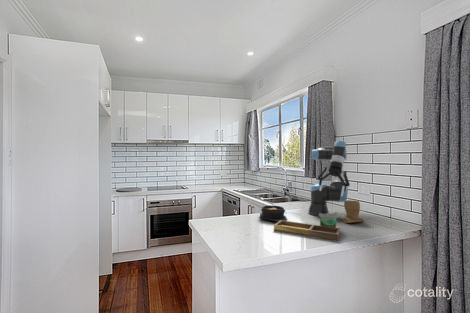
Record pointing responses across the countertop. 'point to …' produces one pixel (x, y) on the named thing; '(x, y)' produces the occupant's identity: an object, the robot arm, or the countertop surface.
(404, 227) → the countertop surface
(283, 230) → the walnut divided tray
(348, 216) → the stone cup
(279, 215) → the casserole
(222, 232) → the countertop surface
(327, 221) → the food container
